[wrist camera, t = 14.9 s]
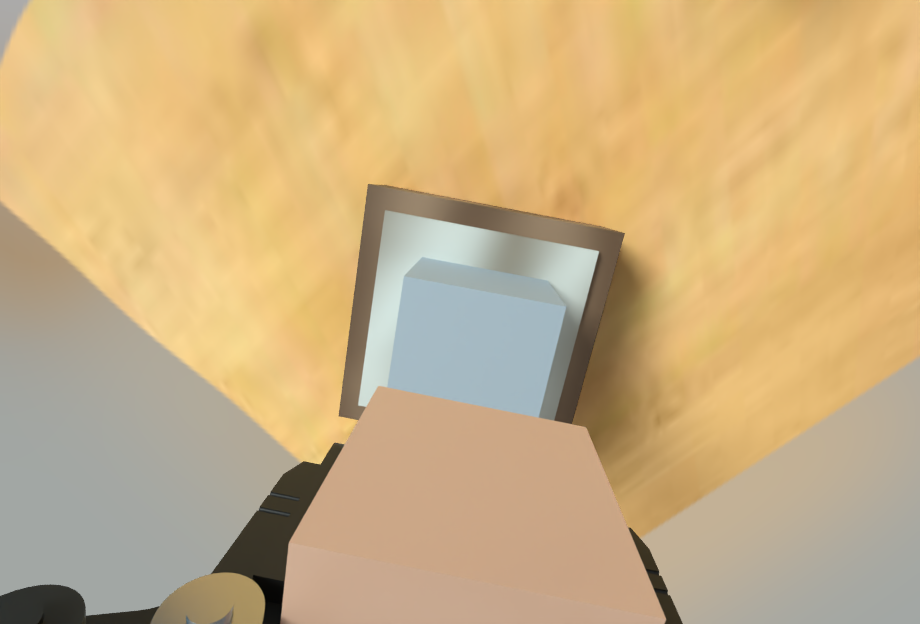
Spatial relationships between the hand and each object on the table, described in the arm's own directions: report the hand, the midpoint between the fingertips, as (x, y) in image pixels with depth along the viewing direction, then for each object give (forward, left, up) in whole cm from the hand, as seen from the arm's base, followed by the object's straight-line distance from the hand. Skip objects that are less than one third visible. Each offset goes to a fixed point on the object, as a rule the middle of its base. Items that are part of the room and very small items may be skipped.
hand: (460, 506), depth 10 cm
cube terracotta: (0, 0, 0) cm, 0 cm away
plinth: (0, 0, -17) cm, 17 cm away
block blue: (0, 0, -13) cm, 13 cm away
